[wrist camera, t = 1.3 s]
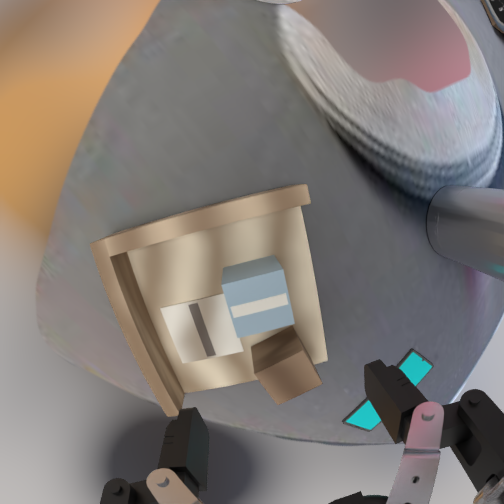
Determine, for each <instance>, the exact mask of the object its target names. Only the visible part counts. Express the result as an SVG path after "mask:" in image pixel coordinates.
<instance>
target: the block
mask: <svg viewBox="0 0 504 504" xmlns="http://www.w3.org/2000/svg"><path fill="white" fill-rule="evenodd" d="M221 286H222V289H223V292H224V296H225V299H226V302H227V306H228V309H229V312H230V316H231V319H232V322H233V325H234V328H235V332H236V335H237V338H241V337H245V336H249V335H253V334H258V333H262V332H266V331H269V330H273V329H277V328H281V327H285V326H288V325H292V324H295V322H294V317H293V312H292V308H291V303H290V298H289V294H288V289H287V284H286V280H285V275H284V271H283V268H282V267H281V265H280V263H279V262H278V260H277V259H276V257H275V255H271V256H267V257H263V258H259V259H255V260H251V261H247V262H243V263H239V264H235V265H231V266H228V267H224V268H223V273H222V283H221Z"/></svg>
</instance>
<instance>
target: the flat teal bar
mask: <svg viewBox="0 0 504 504" xmlns="http://www.w3.org/2000/svg"><path fill="white" fill-rule="evenodd" d="M433 366H434V365H433V364H432V363H431V362H429V361H428V360H427V359H426V358H424V357H423V356H422V355H420V354H419V353H418V352H416V351H415V350H414V349H410V350H409V352H408V353H407V354H406V355H405V356H404V358H403V359H402V360H401V361H400V362H399V363H398V365H397V366H396V367H397V368H399V369H401V370H402V371H403V372H404V373H405V375H406V376H407V377H408V378H409V379H410V380H411V382H412V383H413V384H414V385H415V386H417V385H418V384H419V383H420V382H421V381H422V379H423V378H424V377H425V376H426V375H427V374H428V372H429V371H430V370H431V369H432V368H433ZM342 422H343V424H346V425H349V426H352V427H355V428H358V429H361V430H365V431H368V432H370V431H371V430H372V429H374V428H375V427H376V426H377V425H378V424H379V423H380V422H381V419H380V417H379V416H378V414H377V412H376V411H375V409H374V408H373V406H372V404H371V403H370V401H369V399H368V398H366V399H365V400H364V401H363V402H362V403H360V404H359V405H358V406H357V407H356V408H355V409H354V410H353V411H352V412H351V413H350V414H349V415H348V416H347V417H346V418H344V419H343V420H342Z"/></svg>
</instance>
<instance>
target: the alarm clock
mask: <svg viewBox="0 0 504 504" xmlns="http://www.w3.org/2000/svg"><path fill="white" fill-rule="evenodd" d="M481 1H482V3H483V5H484V7H485V9H486V12H487V14H488V16H489V18H490V21H491V23H492V25H493V26H494V27H495V28H497V29H498V30H499V31H501V32H502V33H503V34H504V0H481Z"/></svg>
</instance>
